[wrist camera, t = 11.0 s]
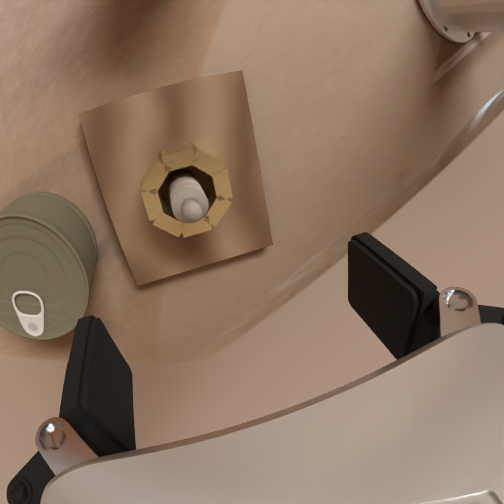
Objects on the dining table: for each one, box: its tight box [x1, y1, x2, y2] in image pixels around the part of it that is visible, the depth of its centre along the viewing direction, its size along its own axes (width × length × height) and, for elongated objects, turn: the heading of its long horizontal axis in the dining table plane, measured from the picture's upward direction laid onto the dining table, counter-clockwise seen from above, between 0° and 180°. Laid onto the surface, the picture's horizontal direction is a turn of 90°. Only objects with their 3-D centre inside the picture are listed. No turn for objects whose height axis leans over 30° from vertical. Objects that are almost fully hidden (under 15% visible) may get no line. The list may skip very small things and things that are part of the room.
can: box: [0, 192, 97, 340], centre depth 24 cm, size 12×12×7 cm
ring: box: [141, 142, 233, 238], centre depth 25 cm, size 7×7×4 cm
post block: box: [79, 71, 273, 286], centre depth 24 cm, size 14×17×10 cm
